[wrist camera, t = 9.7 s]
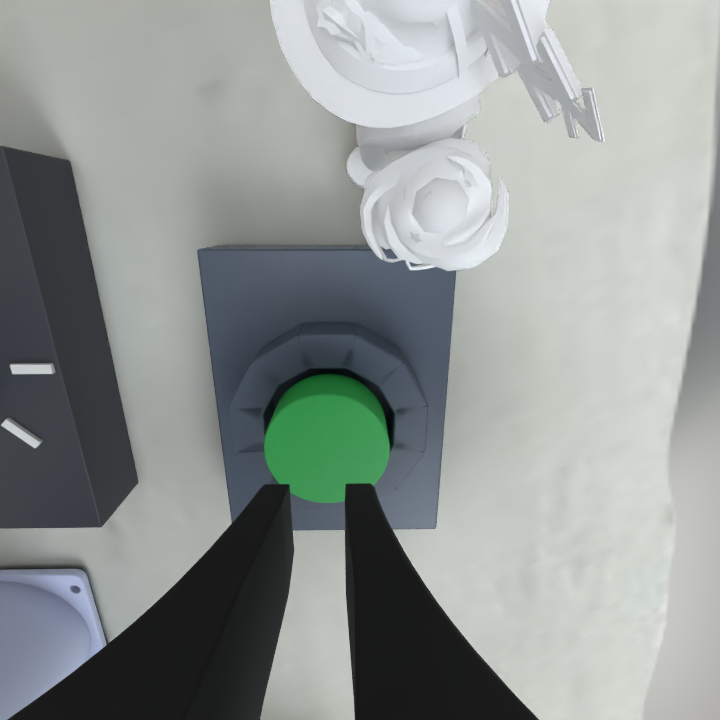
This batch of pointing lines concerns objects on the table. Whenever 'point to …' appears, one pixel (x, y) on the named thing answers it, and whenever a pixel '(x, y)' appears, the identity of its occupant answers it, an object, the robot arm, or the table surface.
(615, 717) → the table surface
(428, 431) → the block
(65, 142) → the table surface
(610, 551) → the table surface
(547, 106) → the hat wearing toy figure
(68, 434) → the panel
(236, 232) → the table surface
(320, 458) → the button
